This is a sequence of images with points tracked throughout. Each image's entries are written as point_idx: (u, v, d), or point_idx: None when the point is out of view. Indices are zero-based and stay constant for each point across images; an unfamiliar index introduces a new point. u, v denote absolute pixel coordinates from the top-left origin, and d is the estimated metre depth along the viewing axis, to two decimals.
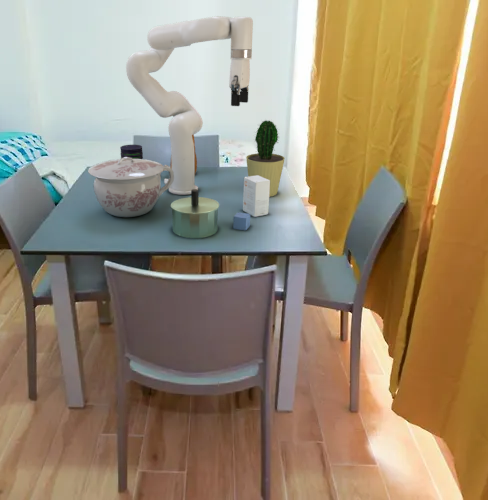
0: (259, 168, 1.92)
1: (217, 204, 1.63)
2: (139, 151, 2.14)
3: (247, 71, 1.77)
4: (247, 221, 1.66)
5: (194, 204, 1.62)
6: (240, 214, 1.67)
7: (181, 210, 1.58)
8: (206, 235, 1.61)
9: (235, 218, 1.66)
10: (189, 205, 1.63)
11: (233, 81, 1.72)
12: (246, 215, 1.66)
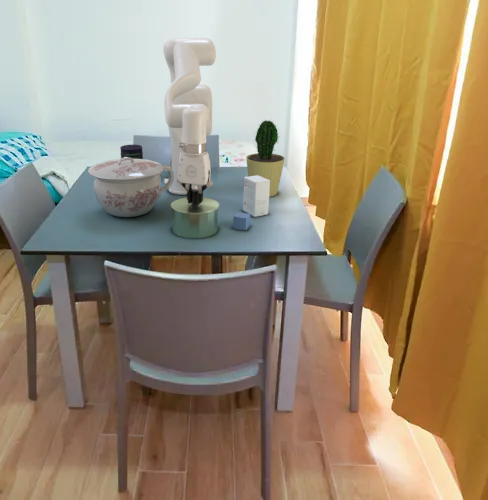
0: (259, 168, 1.92)
1: (217, 204, 1.63)
2: (139, 151, 2.14)
3: None
4: (247, 221, 1.66)
5: (194, 204, 1.62)
6: (240, 214, 1.67)
7: (181, 210, 1.58)
8: (206, 235, 1.61)
9: (235, 218, 1.66)
10: (189, 205, 1.63)
11: (211, 182, 1.58)
12: (246, 215, 1.66)
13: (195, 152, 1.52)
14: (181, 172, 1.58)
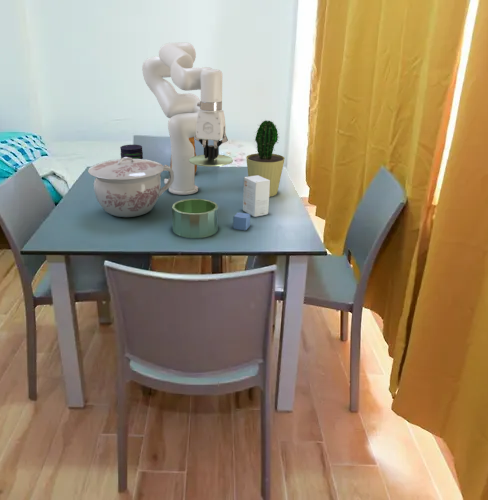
0: (259, 168, 1.92)
1: (231, 159, 1.81)
2: (139, 151, 2.14)
3: None
4: (247, 221, 1.66)
5: (210, 158, 1.80)
6: (240, 214, 1.67)
7: (199, 163, 1.76)
8: (206, 235, 1.61)
9: (235, 218, 1.66)
10: (206, 160, 1.80)
11: (226, 138, 1.75)
12: (246, 215, 1.66)
13: (212, 109, 1.70)
14: (198, 129, 1.75)
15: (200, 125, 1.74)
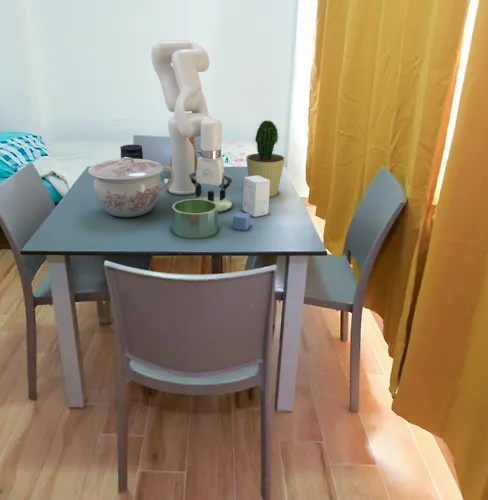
0: (259, 168, 1.92)
1: (230, 203, 1.88)
2: (139, 151, 2.14)
3: None
4: (247, 221, 1.66)
5: None
6: (240, 214, 1.67)
7: None
8: (206, 235, 1.61)
9: (235, 218, 1.66)
10: None
11: (230, 178, 1.81)
12: (246, 215, 1.66)
13: (211, 157, 1.77)
14: (198, 174, 1.82)
15: (200, 171, 1.82)
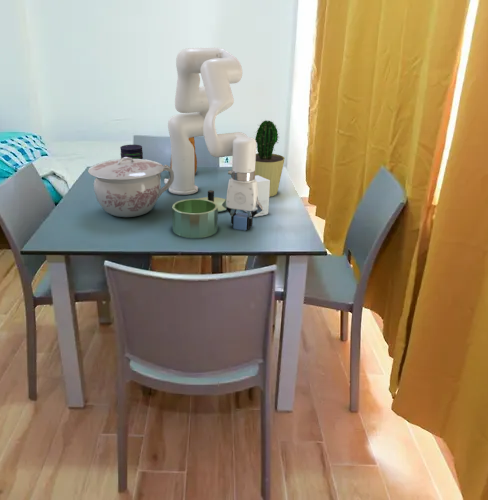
0: (259, 168, 1.92)
1: None
2: (139, 151, 2.14)
3: None
4: None
5: None
6: (240, 214, 1.67)
7: None
8: (206, 235, 1.61)
9: (235, 218, 1.66)
10: None
11: (261, 207, 1.63)
12: (246, 215, 1.66)
13: (245, 180, 1.58)
14: (229, 198, 1.63)
15: (231, 195, 1.62)
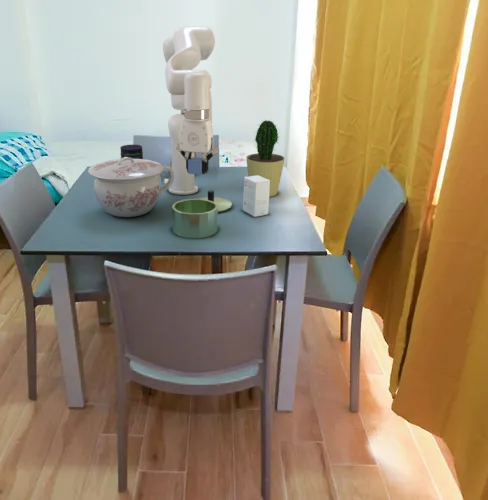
0: (259, 168, 1.92)
1: (230, 203, 1.88)
2: (139, 151, 2.14)
3: None
4: None
5: None
6: (195, 158, 1.57)
7: None
8: (206, 235, 1.61)
9: (189, 162, 1.56)
10: None
11: (216, 148, 1.53)
12: (201, 159, 1.57)
13: (197, 118, 1.48)
14: (183, 140, 1.53)
15: (184, 136, 1.53)
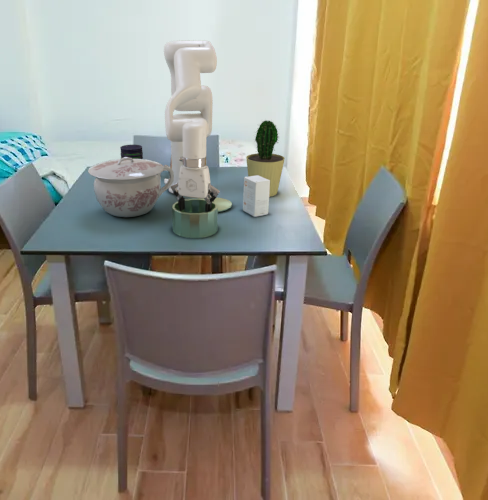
0: (259, 168, 1.92)
1: (230, 203, 1.88)
2: (139, 151, 2.14)
3: None
4: None
5: None
6: None
7: None
8: (206, 235, 1.61)
9: None
10: None
11: (216, 189, 1.58)
12: None
13: (195, 166, 1.54)
14: (181, 186, 1.60)
15: (182, 182, 1.59)
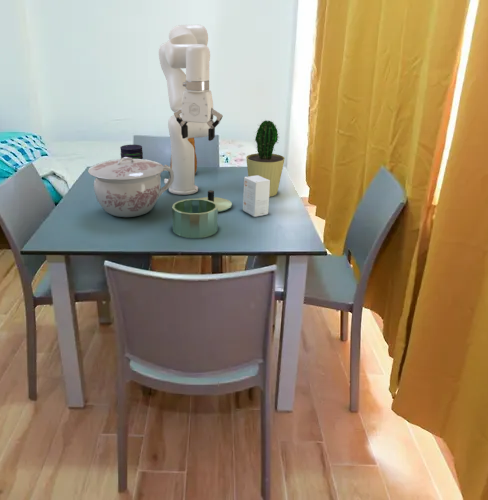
0: (259, 168, 1.92)
1: (230, 203, 1.88)
2: (139, 151, 2.14)
3: None
4: None
5: None
6: None
7: None
8: (206, 235, 1.61)
9: None
10: None
11: (219, 113, 1.60)
12: None
13: (198, 89, 1.57)
14: (184, 111, 1.62)
15: (186, 106, 1.61)
